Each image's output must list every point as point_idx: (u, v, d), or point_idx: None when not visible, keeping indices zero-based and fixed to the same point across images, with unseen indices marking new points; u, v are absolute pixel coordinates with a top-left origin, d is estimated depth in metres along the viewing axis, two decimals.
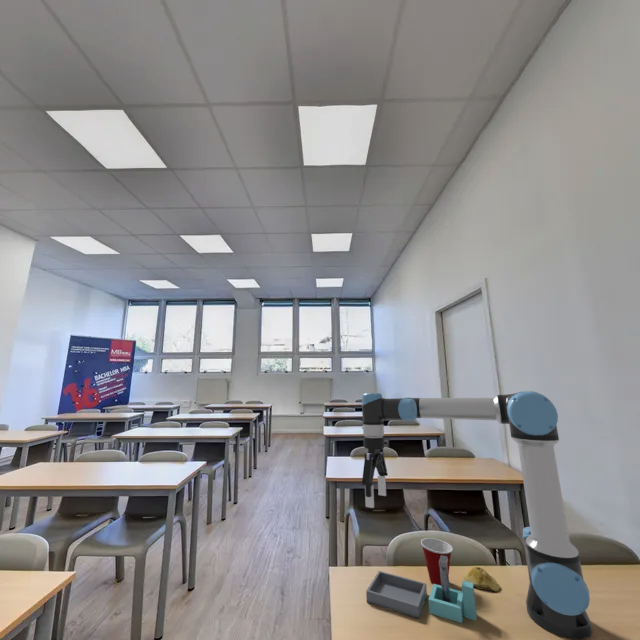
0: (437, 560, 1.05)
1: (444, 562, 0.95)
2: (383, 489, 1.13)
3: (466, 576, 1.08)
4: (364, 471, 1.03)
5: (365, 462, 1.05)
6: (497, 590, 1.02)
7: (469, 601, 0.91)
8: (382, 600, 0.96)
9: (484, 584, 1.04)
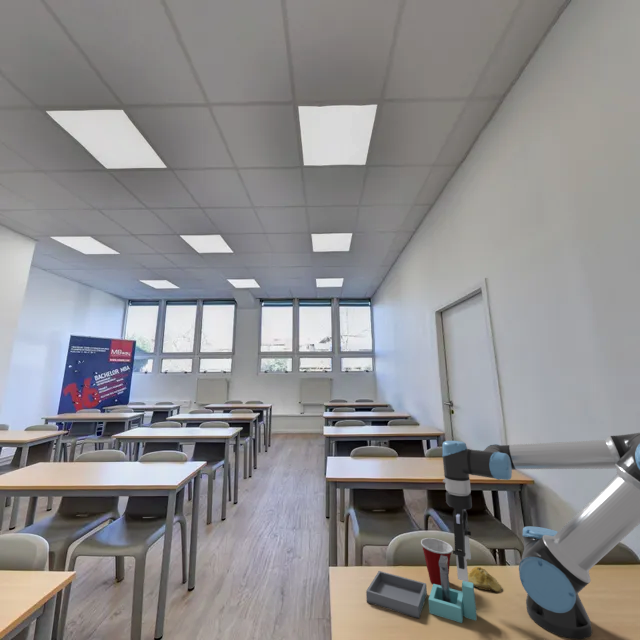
0: (437, 560, 1.05)
1: (444, 562, 0.95)
2: (467, 551, 1.00)
3: None
4: (455, 538, 0.90)
5: (455, 526, 0.92)
6: (498, 590, 1.02)
7: (469, 601, 0.91)
8: (382, 600, 0.96)
9: (485, 584, 1.03)
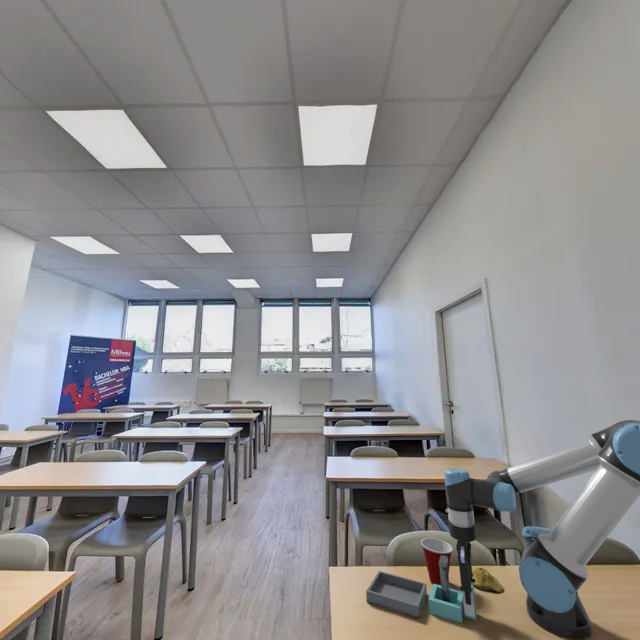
0: (437, 560, 1.05)
1: (444, 562, 0.95)
2: None
3: None
4: (461, 577, 0.90)
5: (460, 566, 0.90)
6: (500, 591, 1.02)
7: None
8: (382, 600, 0.96)
9: (486, 584, 1.03)
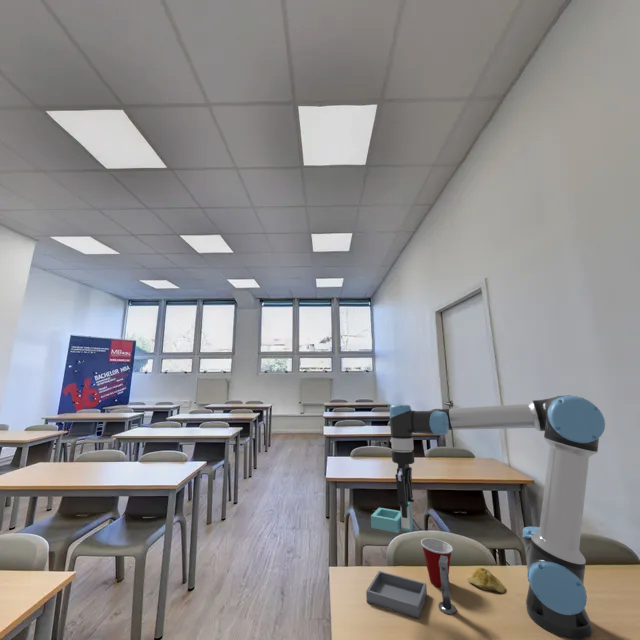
0: (437, 560, 1.05)
1: (444, 562, 0.95)
2: None
3: (471, 577, 1.08)
4: (398, 493, 1.01)
5: (397, 483, 1.01)
6: (502, 591, 1.02)
7: None
8: (382, 600, 0.96)
9: (489, 585, 1.03)
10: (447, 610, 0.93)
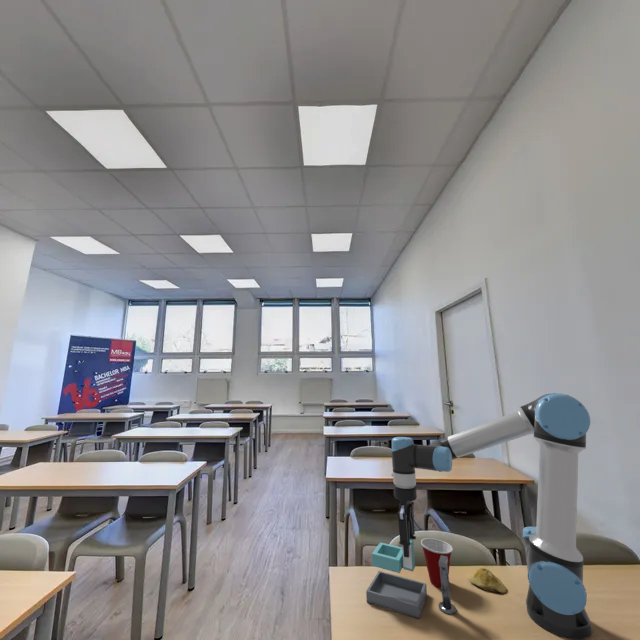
0: (437, 560, 1.05)
1: (444, 562, 0.95)
2: None
3: (472, 577, 1.08)
4: (400, 532, 0.98)
5: (399, 522, 0.98)
6: (503, 592, 1.02)
7: None
8: (382, 600, 0.96)
9: (490, 585, 1.03)
10: (447, 610, 0.93)
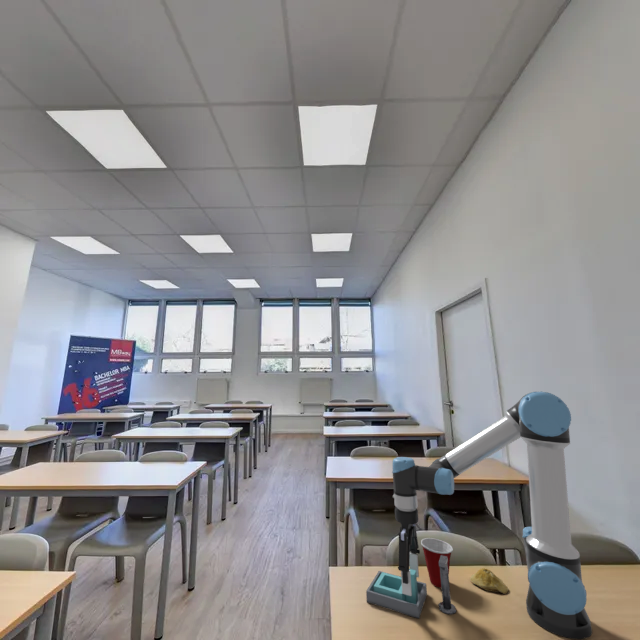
0: (437, 560, 1.05)
1: (444, 562, 0.95)
2: (415, 569, 1.03)
3: (473, 578, 1.07)
4: (400, 554, 0.95)
5: (400, 543, 0.96)
6: (505, 592, 1.01)
7: (411, 587, 0.97)
8: (382, 600, 0.96)
9: (492, 586, 1.03)
10: (447, 610, 0.93)
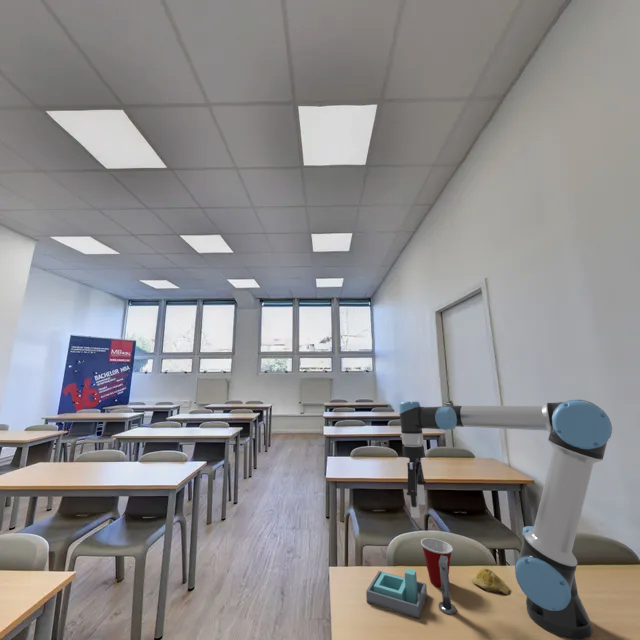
0: (437, 560, 1.05)
1: (444, 562, 0.95)
2: (422, 498, 1.13)
3: (475, 578, 1.07)
4: (409, 481, 1.02)
5: (409, 472, 1.04)
6: (507, 592, 1.01)
7: (411, 587, 0.97)
8: (382, 600, 0.96)
9: (493, 586, 1.02)
10: (447, 610, 0.93)
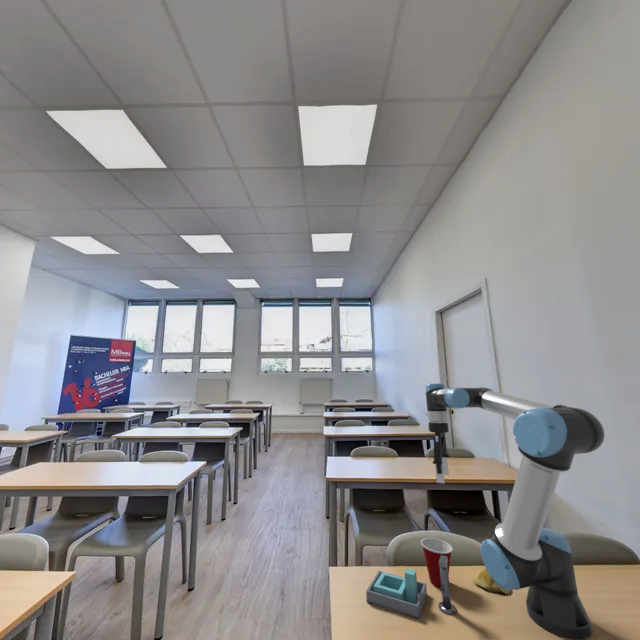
0: (437, 560, 1.05)
1: (444, 562, 0.95)
2: (446, 469, 1.27)
3: (476, 579, 1.07)
4: (435, 451, 1.17)
5: (434, 443, 1.18)
6: (508, 593, 1.01)
7: (411, 587, 0.97)
8: (382, 600, 0.96)
9: (494, 586, 1.02)
10: (447, 610, 0.93)
